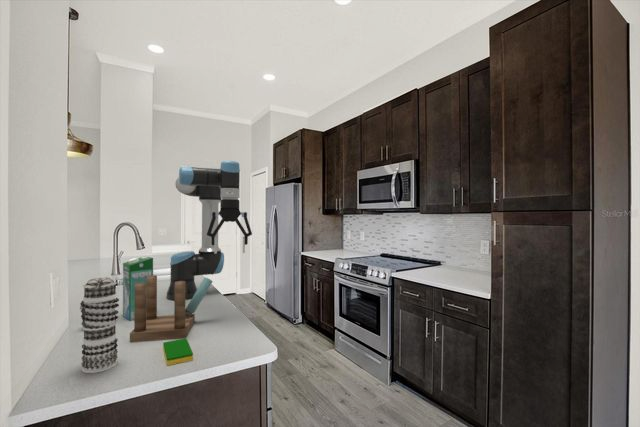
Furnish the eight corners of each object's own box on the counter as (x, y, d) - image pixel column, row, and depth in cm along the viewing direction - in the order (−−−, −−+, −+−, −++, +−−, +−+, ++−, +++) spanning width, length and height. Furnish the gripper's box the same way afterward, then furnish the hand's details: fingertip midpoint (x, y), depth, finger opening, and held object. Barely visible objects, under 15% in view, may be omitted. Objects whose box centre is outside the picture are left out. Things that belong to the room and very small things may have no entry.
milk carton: (122, 315, 136) (122, 257, 136) (145, 311, 143) (145, 255, 143) (129, 320, 130) (129, 259, 130) (153, 315, 137) (153, 257, 137)
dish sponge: (186, 345, 108) (186, 337, 108) (193, 361, 96) (193, 353, 96) (163, 349, 104) (163, 342, 104) (166, 367, 92) (166, 358, 92)
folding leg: (186, 307, 129) (205, 276, 130) (194, 311, 129) (213, 280, 131) (184, 310, 125) (203, 278, 127) (193, 314, 126) (211, 282, 127)
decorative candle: (93, 376, 86) (93, 283, 86) (72, 369, 89) (73, 280, 89) (126, 362, 94) (126, 277, 94) (105, 356, 98) (106, 275, 98)
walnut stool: (147, 323, 127) (147, 275, 127) (195, 320, 131) (195, 273, 131) (129, 342, 109) (130, 285, 109) (185, 337, 113) (186, 283, 113)
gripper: (199, 198, 125) (198, 254, 125) (258, 199, 129) (258, 253, 129) (202, 199, 132) (201, 252, 132) (258, 199, 137) (258, 251, 137)
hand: (229, 253), depth 131 cm, fingers open, 10 cm apart
